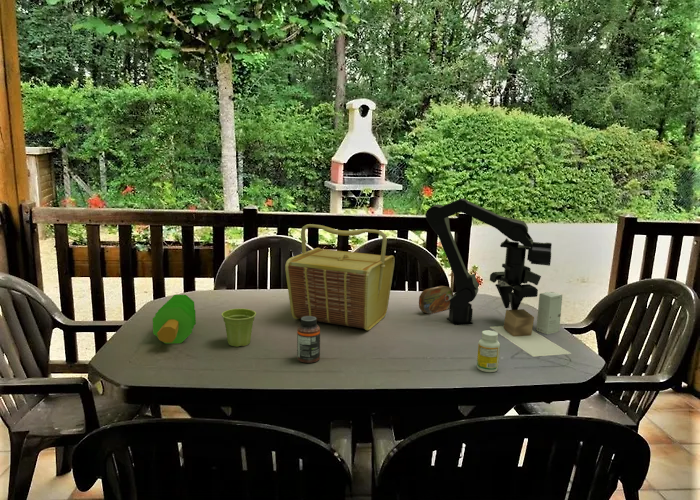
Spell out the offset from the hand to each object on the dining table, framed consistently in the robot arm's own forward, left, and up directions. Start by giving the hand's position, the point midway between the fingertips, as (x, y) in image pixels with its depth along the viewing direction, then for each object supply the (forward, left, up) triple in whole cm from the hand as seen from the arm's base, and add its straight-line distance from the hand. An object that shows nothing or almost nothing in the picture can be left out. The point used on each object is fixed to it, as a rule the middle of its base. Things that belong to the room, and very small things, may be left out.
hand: (510, 310), depth 173 cm
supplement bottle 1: (-66, -14, -6) cm, 68 cm away
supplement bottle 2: (-22, -28, -6) cm, 36 cm away
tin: (-16, +21, -6) cm, 27 cm away
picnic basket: (-50, +18, -6) cm, 54 cm away
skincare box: (+10, -5, -6) cm, 13 cm away
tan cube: (0, -5, -5) cm, 7 cm away
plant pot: (-83, +1, -6) cm, 83 cm away
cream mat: (0, -11, -6) cm, 12 cm away
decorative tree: (-100, +12, -6) cm, 101 cm away
